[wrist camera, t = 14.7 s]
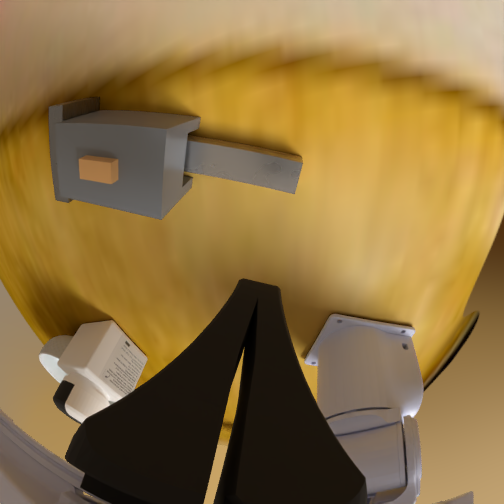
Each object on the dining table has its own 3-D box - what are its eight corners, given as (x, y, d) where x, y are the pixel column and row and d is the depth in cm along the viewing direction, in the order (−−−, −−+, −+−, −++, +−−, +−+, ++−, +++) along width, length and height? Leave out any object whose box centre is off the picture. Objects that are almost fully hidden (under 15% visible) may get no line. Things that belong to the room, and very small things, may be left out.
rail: (311, 119, 14) (316, 127, 11) (285, 218, 18) (282, 251, 15) (85, 98, 15) (48, 106, 12) (86, 179, 19) (55, 200, 16)
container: (114, 357, 35) (80, 427, 24) (81, 322, 31) (37, 394, 21) (149, 358, 32) (114, 440, 22) (113, 318, 29) (63, 406, 18)
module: (200, 117, 15) (160, 131, 11) (191, 187, 18) (155, 226, 14) (102, 109, 16) (47, 126, 11) (101, 170, 18) (53, 200, 14)
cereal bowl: (125, 389, 43) (112, 419, 37) (55, 338, 38) (37, 366, 32) (162, 372, 34) (146, 413, 29) (67, 301, 29) (39, 339, 24)
